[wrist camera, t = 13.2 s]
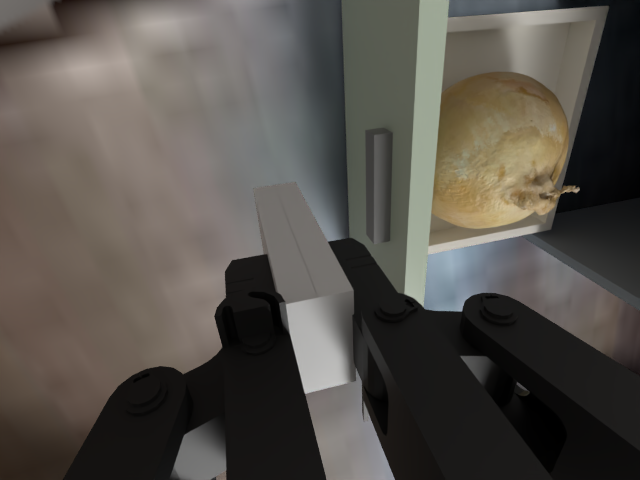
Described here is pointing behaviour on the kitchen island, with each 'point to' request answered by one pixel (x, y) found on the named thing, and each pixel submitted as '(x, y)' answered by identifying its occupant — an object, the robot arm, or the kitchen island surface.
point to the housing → (599, 245)
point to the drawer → (424, 109)
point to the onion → (498, 150)
